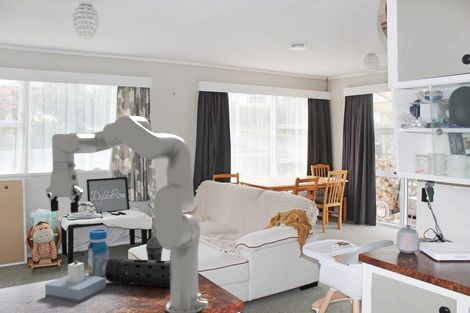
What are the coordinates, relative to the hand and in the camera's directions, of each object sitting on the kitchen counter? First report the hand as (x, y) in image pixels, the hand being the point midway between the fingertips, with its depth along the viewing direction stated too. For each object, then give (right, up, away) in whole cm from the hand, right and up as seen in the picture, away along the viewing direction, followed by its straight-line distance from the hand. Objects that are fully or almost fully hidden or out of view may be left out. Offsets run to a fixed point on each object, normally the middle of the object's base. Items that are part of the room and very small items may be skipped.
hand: (64, 211), depth 156 cm
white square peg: (+5, -29, -1) cm, 30 cm away
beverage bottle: (+8, -30, +15) cm, 34 cm away
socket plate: (+5, -30, -1) cm, 31 cm away
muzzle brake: (+27, -30, +8) cm, 41 cm away
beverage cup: (+30, -30, +21) cm, 47 cm away
